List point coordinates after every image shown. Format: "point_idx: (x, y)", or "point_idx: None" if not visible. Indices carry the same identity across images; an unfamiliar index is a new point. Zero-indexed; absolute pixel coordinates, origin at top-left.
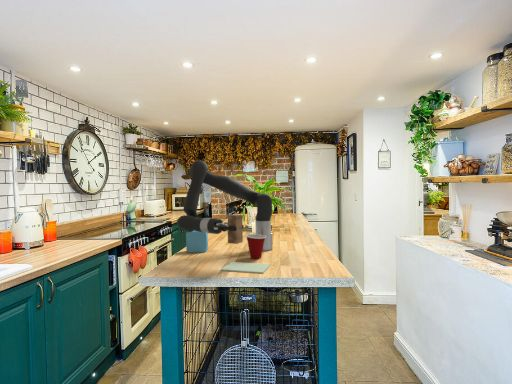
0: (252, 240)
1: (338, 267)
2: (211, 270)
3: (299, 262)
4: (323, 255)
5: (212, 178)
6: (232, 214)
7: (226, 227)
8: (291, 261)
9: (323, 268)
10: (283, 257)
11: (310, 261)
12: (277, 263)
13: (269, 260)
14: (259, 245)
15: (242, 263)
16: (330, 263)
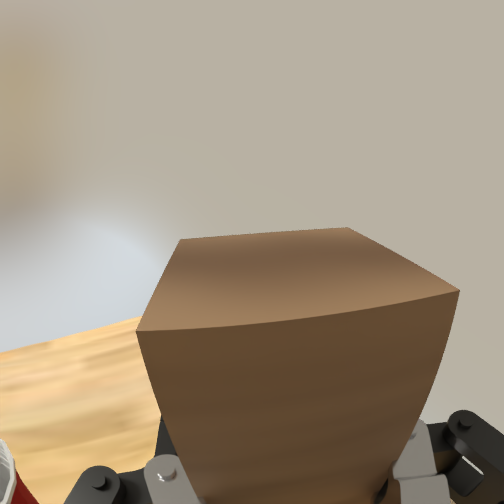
0: (18, 501)
1: (119, 324)
2: None
3: (85, 391)
4: (7, 361)
5: None
6: (226, 322)
7: (436, 426)
8: (76, 412)
9: (137, 339)
10: (23, 443)
11: (69, 372)
12: (115, 442)
13: (76, 480)
14: (24, 485)
15: None
16: (86, 339)
